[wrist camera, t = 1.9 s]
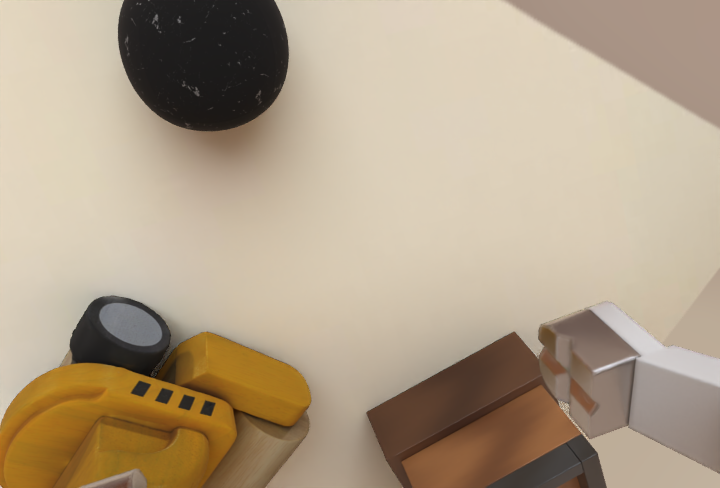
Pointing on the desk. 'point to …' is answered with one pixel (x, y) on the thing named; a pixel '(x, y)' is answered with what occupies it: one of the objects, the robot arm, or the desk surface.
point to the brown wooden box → (485, 428)
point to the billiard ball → (204, 59)
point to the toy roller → (153, 409)
